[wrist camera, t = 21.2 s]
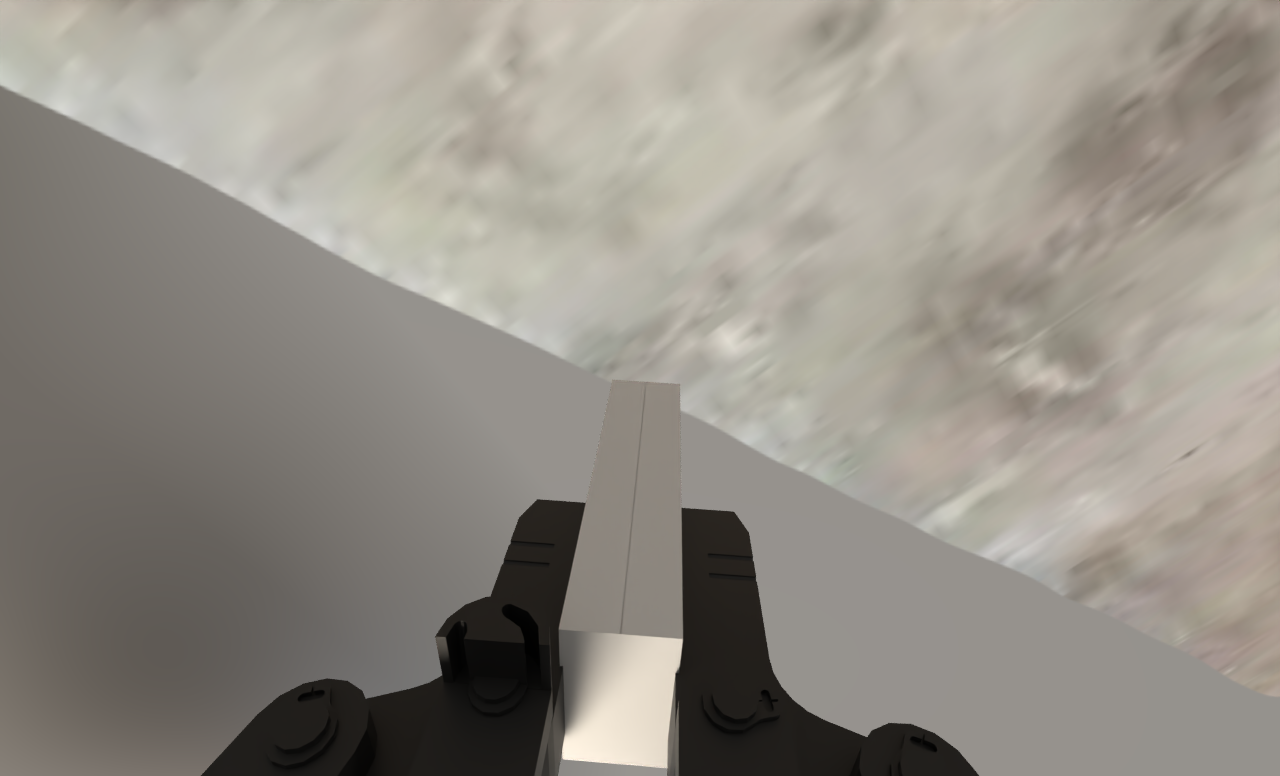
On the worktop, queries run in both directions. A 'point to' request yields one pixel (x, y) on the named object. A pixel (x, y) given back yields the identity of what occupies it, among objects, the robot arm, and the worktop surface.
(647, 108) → the worktop surface
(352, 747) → the robot arm
